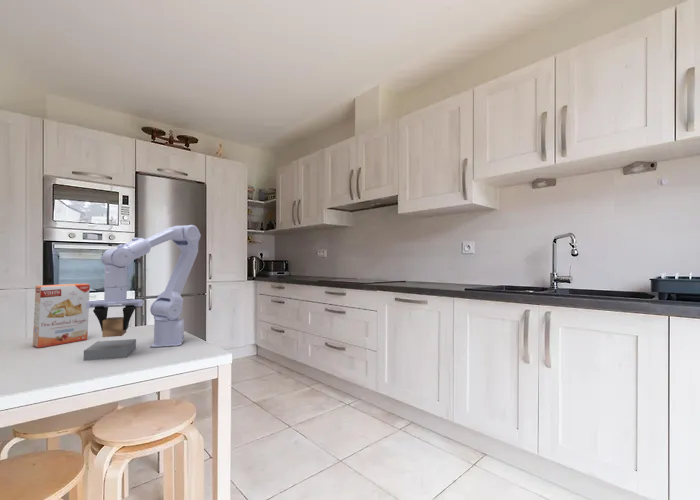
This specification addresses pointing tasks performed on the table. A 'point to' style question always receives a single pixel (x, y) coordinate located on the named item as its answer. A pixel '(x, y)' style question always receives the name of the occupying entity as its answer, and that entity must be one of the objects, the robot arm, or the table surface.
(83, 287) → the cracker box
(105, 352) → the gray block
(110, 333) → the walnut cube
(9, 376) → the table surface
